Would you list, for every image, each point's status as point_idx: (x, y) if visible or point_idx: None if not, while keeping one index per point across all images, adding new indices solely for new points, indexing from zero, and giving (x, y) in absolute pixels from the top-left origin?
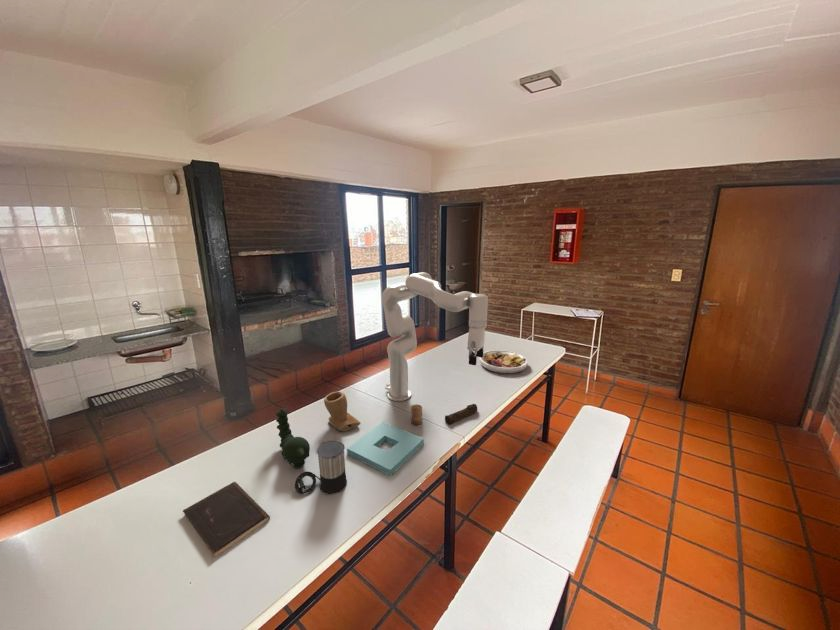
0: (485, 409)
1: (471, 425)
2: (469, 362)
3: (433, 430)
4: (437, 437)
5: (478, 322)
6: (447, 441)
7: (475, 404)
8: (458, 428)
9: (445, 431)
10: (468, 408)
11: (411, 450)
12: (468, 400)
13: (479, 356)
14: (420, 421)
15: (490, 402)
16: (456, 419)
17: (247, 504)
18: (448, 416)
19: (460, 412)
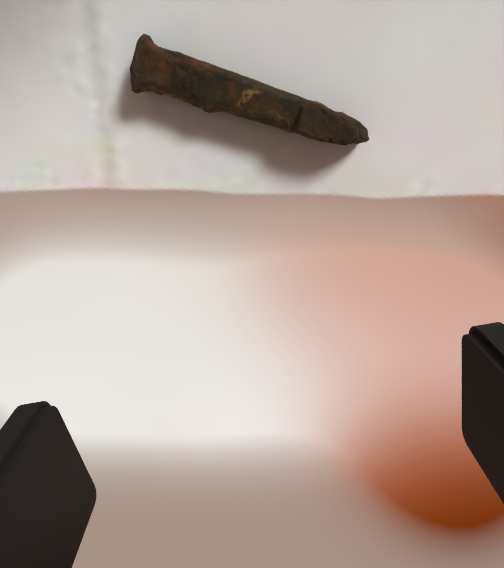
0: (402, 168)
1: (217, 185)
2: (9, 438)
3: (33, 38)
4: (7, 99)
5: None
6: (24, 161)
7: (355, 140)
8: (149, 145)
9: (78, 102)
10: (296, 122)
11: None
12: (455, 21)
13: (468, 398)
14: None
15: (493, 154)
16: (187, 102)
17: None
18: (135, 68)
19: (232, 101)
